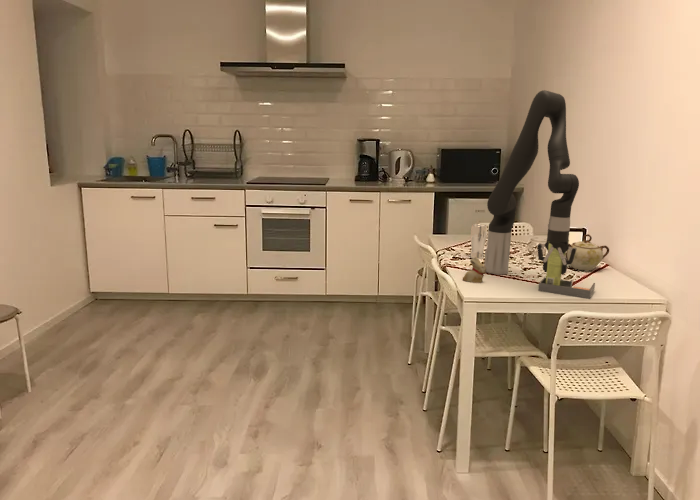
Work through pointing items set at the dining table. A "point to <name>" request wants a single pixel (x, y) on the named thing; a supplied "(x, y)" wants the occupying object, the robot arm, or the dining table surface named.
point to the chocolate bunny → (475, 271)
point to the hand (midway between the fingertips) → (554, 272)
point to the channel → (565, 289)
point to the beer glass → (477, 240)
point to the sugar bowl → (586, 254)
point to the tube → (554, 267)
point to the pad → (581, 288)
